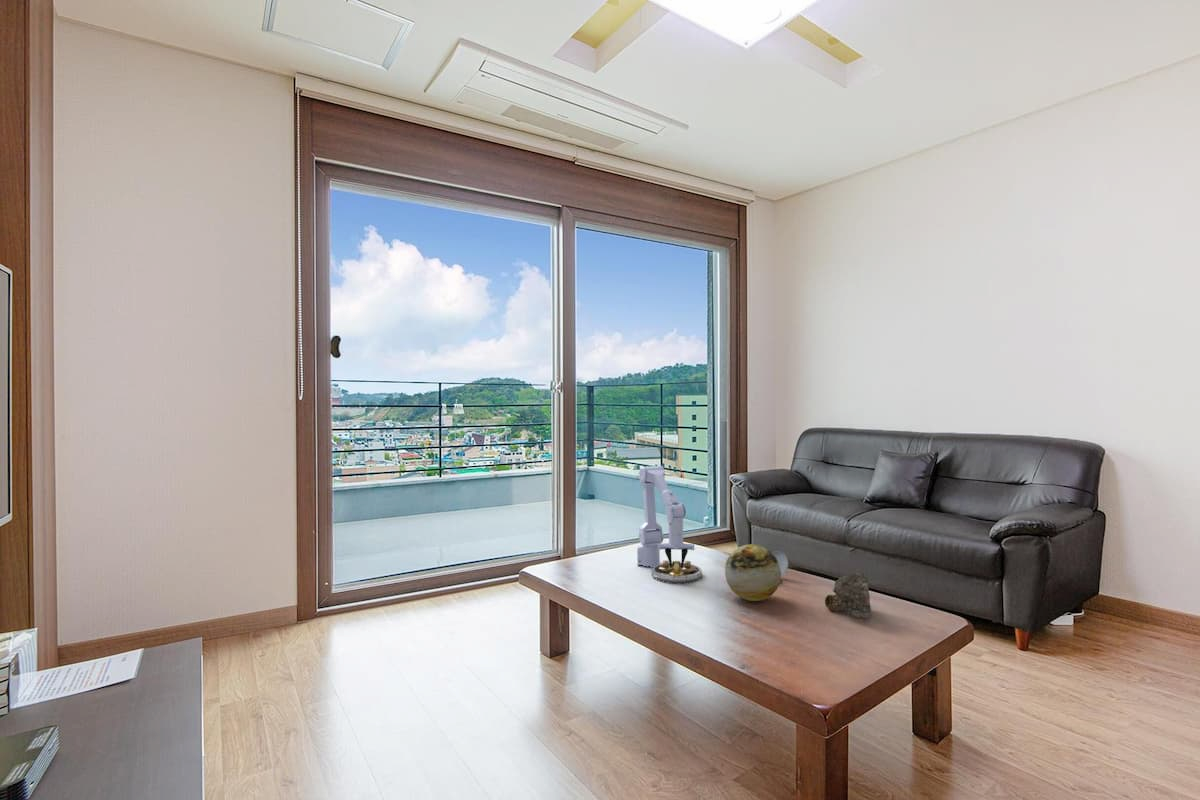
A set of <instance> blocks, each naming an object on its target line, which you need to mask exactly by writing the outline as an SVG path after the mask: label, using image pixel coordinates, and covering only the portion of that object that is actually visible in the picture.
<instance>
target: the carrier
mask: <svg viewBox="0 0 1200 800" xmlns="http://www.w3.org/2000/svg"><path fill="white" fill-rule="evenodd" d="M661 562H662V563H663V564H659V565H656V566H654V567H653V568H652V567H651V577H652V576H653V577H654V578H655V579H657V580H656V581H658V580H660V581H659V582H661V581H664V582H663V583H666V582H669V583H668V584H677V583H681V584H690V583H689V582H691V583H695V582H699V581H700V580H702V578H703V571H702V569H701V567H700V566H698V565H694V564H692V563H691V560H684V564H683V568H681V562H680V568H681V572H684V576H671V575H669V572H672V571H673V563H672V568H670V564H669V560H663V561H661ZM653 577H652V578H653ZM701 577H702V578H701ZM654 578H653V579H654ZM655 579H654V580H655ZM699 579H700V580H699Z"/></svg>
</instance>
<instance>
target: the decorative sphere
mask: <svg viewBox="0 0 1200 800" xmlns="http://www.w3.org/2000/svg"><path fill="white" fill-rule="evenodd" d="M724 576H725V578H726V582H727V584H728V587H729V588H730V590H731V591H732V592H733V593H734V594H735V595H736V596H738V597H739V598H741V599H744V600H745V601H750V602H761V601H764V600H766V599H768V598H770V597H771V596H773V595H774V593H776V591H777V590H778V588H779V586H780V583H781V581H782V575H781V569H780V565H779V563H778V561H777V559H776V557H775V556H774V555H773V552H771V550H770V549H768V548H767V547H764V546H762V545H759V544H755V543H754V544H752V543H750V544H744V545H740V546H739V547H736V549H734V550H733V551H732V552H731V553H730V554H729V556H728V557H727V560H726V563H725V566H724ZM780 580H781V581H780Z"/></svg>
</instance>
